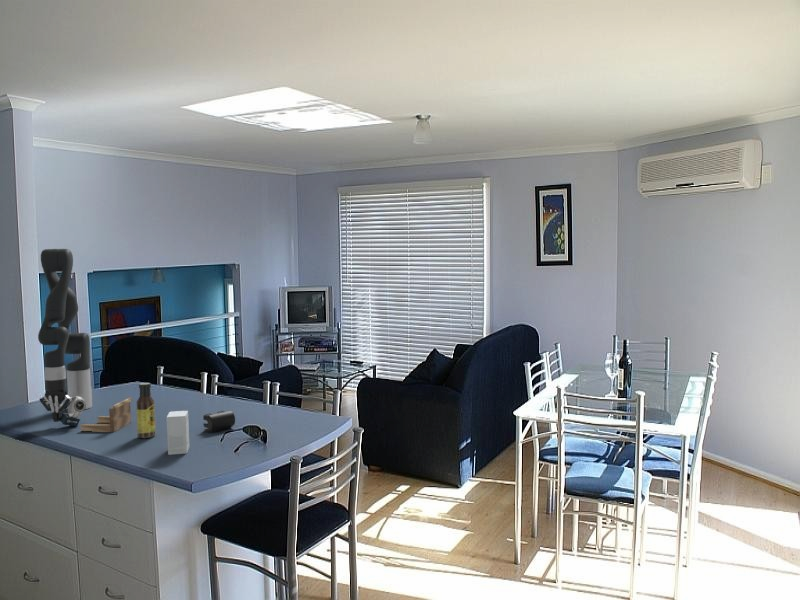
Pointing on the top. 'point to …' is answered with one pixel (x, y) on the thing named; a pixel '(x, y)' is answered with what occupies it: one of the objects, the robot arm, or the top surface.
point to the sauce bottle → (145, 412)
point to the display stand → (112, 418)
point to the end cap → (219, 421)
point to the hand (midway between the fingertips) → (57, 421)
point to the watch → (76, 408)
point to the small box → (177, 432)
